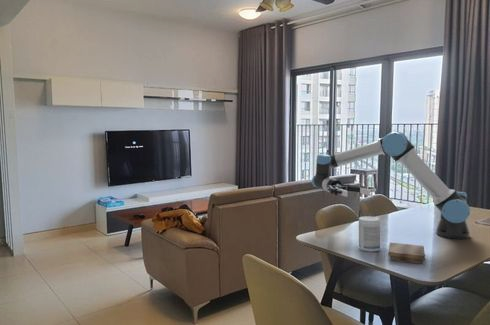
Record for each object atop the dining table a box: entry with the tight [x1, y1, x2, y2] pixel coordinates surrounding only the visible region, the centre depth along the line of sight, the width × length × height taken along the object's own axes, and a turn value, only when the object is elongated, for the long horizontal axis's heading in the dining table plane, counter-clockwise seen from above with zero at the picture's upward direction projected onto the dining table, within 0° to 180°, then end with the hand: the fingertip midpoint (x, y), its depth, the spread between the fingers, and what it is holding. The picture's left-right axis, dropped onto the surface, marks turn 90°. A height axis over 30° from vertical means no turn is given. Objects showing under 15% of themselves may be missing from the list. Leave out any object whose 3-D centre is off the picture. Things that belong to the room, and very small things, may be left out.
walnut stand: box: [387, 242, 426, 265], centre depth 161 cm, size 14×14×4 cm
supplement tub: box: [358, 215, 381, 253], centre depth 173 cm, size 10×10×15 cm
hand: (358, 193), depth 180 cm, fingers open, 13 cm apart
